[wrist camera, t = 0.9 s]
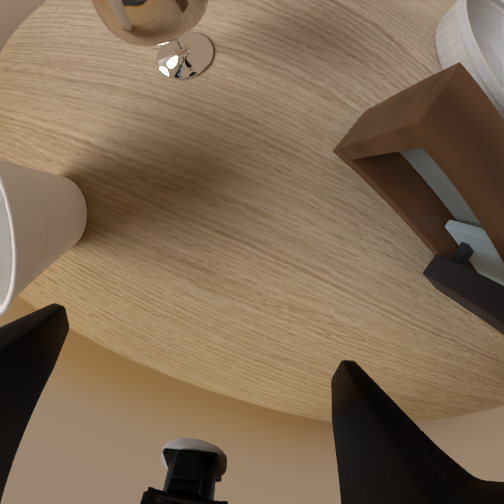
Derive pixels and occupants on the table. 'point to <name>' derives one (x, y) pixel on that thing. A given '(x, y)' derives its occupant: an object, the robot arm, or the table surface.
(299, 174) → the table surface
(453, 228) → the pane
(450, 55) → the ramekin
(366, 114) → the window frame
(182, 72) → the wineglass
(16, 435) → the robot arm
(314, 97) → the table surface
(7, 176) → the cup
